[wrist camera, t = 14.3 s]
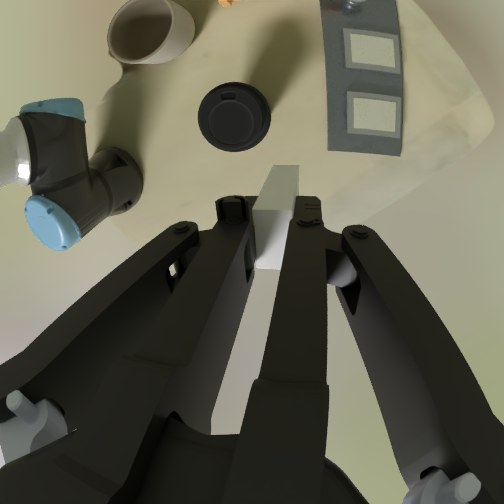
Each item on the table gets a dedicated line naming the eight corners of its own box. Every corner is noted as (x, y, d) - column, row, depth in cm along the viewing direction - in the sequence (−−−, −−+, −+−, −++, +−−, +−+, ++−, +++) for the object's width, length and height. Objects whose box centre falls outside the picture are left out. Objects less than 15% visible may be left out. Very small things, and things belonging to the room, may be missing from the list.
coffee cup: (263, 75, 39) (243, 67, 27) (290, 121, 43) (283, 133, 30) (216, 101, 43) (180, 107, 31) (243, 145, 47) (217, 167, 34)
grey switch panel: (327, 149, 44) (329, 155, 40) (318, -10, 28) (318, -20, 24) (398, 155, 42) (406, 161, 38) (393, -2, 26) (400, -9, 22)
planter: (215, 22, 35) (191, 7, 26) (177, 76, 41) (145, 75, 32) (165, -1, 32) (133, -14, 23) (131, 50, 39) (95, 48, 30)
